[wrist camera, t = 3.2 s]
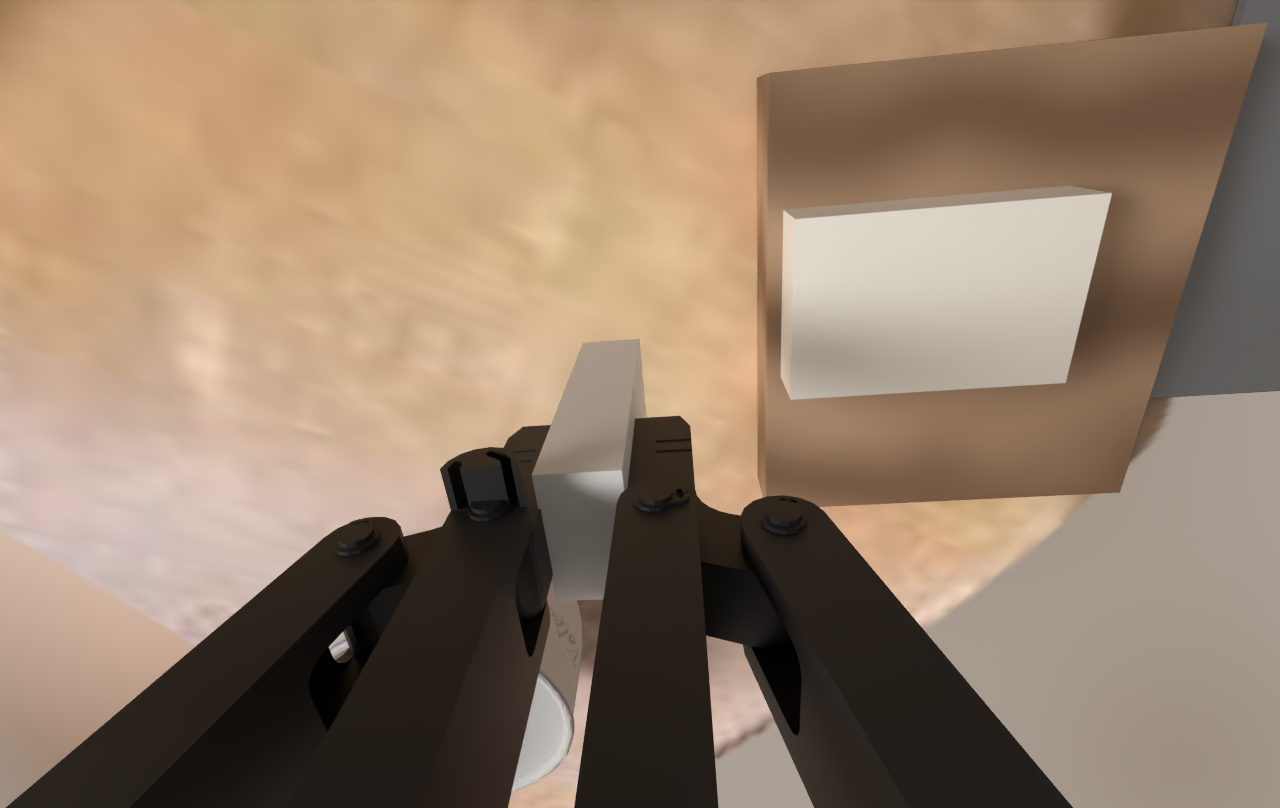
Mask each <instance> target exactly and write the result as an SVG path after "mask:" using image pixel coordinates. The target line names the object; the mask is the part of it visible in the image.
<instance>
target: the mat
mask: <svg viewBox="0 0 1280 808" xmlns="http://www.w3.org/2000/svg"><path fill="white" fill-rule="evenodd" d="M1259 23H1268V24H1267V27H1266V30H1265V33H1264V36H1263V40H1262V43H1261V46H1260V49H1259V52H1258V55H1257V59H1256V62H1255V65H1254V68H1253V71H1252V74H1251V78H1250V81H1249V84H1248V87H1247V90H1246V93H1245V97H1244V100H1243V103H1242V106H1241V109H1240V112H1239V116H1238V119H1237V122H1236V125H1235V128H1234V132H1233V135H1232V138H1231V141H1230V144H1229V147H1228V151H1227V154H1226V157H1225V160H1224V163H1223V166H1222V170H1221V173H1220V176H1219V179H1218V182H1217V185H1216V189H1215V192H1214V195H1213V198H1212V201H1211V204H1210V208H1209V211H1208V214H1207V217H1206V220H1205V223H1204V227H1203V230H1202V233H1201V236H1200V239H1199V243H1198V246H1197V249H1196V252H1195V255H1194V258H1193V262H1192V265H1191V268H1190V271H1189V274H1188V277H1187V281H1186V284H1185V287H1184V290H1183V293H1182V296H1181V300H1180V303H1179V306H1178V309H1177V312H1176V315H1175V319H1174V322H1173V325H1172V328H1171V331H1170V335H1169V338H1168V341H1167V344H1166V347H1165V350H1164V354H1163V357H1162V360H1161V363H1160V366H1159V369H1158V373H1157V376H1156V379H1155V382H1154V385H1153V388H1152V392H1151V395H1150V398H1165V397H1182V396H1199V395H1216V394H1233V393H1251V392H1268V391H1280V0H1239V2H1238V5H1237V9H1236V12H1235V15H1234V19H1233V22H1232V26H1240V25H1249V24H1259Z"/></svg>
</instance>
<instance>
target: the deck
mask: <svg viewBox="0 0 1280 808" xmlns="http://www.w3.org/2000/svg"><path fill="white" fill-rule="evenodd" d="M1267 24H1268V23H1259V24H1249V25H1240V26H1230V27H1220V28H1210V29H1200V30H1190V31H1180V32H1170V33H1160V34H1150V35H1140V36H1131V37H1121V38H1111V39H1101V40H1091V41H1081V42H1071V43H1061V44H1051V45H1041V46H1031V47H1022V48H1012V49H1002V50H992V51H982V52H972V53H962V54H952V55H942V56H932V57H923V58H913V59H903V60H893V61H883V62H873V63H863V64H853V65H843V66H833V67H823V68H814V69H804V70H794V71H784V72H774V73H768V74H765V75H763V76H760V77H758V78H757V226H758V479H759V483H760V487H761V491H762V495H763V498H764V497H767V496H779V495H785V496H792V497H799V498H802V499H804V500H807V501H809V502H812V503H814V504H815V505H817V506H818V507H825V506H846V505H867V504H888V503H908V502H929V501H950V500H971V499H992V498H1013V497H1034V496H1055V495H1076V494H1096V493H1117V492H1120V490H1121V487H1122V484H1123V480H1124V477H1125V474H1126V471H1127V468H1128V465H1129V461H1130V458H1131V455H1132V452H1133V449H1134V446H1135V442H1136V439H1137V436H1138V433H1139V430H1140V426H1141V423H1142V420H1143V417H1144V414H1145V411H1146V407H1147V404H1148V401H1149V398H1150V395H1151V392H1152V388H1153V385H1154V382H1155V379H1156V376H1157V373H1158V369H1159V366H1160V363H1161V360H1162V357H1163V354H1164V350H1165V347H1166V344H1167V341H1168V338H1169V335H1170V331H1171V328H1172V325H1173V322H1174V319H1175V315H1176V312H1177V309H1178V306H1179V303H1180V300H1181V296H1182V293H1183V290H1184V287H1185V284H1186V281H1187V277H1188V274H1189V271H1190V268H1191V265H1192V262H1193V258H1194V255H1195V252H1196V249H1197V246H1198V243H1199V239H1200V236H1201V233H1202V230H1203V227H1204V223H1205V220H1206V217H1207V214H1208V211H1209V208H1210V204H1211V201H1212V198H1213V195H1214V192H1215V189H1216V185H1217V182H1218V179H1219V176H1220V173H1221V170H1222V166H1223V163H1224V160H1225V157H1226V154H1227V151H1228V147H1229V144H1230V141H1231V138H1232V135H1233V132H1234V128H1235V125H1236V122H1237V119H1238V116H1239V112H1240V109H1241V106H1242V103H1243V100H1244V97H1245V93H1246V90H1247V87H1248V84H1249V81H1250V78H1251V74H1252V71H1253V68H1254V65H1255V62H1256V59H1257V55H1258V52H1259V49H1260V46H1261V43H1262V40H1263V36H1264V33H1265V30H1266V27H1267ZM1059 186H1075V187H1081V188H1086V189H1092V190H1098V191H1104V192H1109V193H1112V196H1111V200H1110V204H1109V208H1108V212H1107V216H1106V220H1105V224H1104V228H1103V232H1102V236H1101V241H1100V245H1099V249H1098V253H1097V257H1096V261H1095V265H1094V269H1093V273H1092V277H1091V281H1090V286H1089V290H1088V294H1087V298H1086V302H1085V306H1084V310H1083V314H1082V318H1081V322H1080V326H1079V330H1078V335H1077V339H1076V343H1075V347H1074V351H1073V355H1072V359H1071V363H1070V367H1069V371H1068V375H1067V380H1066V383H1058V384H1041V385H1025V386H1009V387H992V388H976V389H960V390H943V391H927V392H910V393H894V394H878V395H861V396H845V397H828V398H812V399H796V400H791V399H790V397H789V395H788V393H787V390H786V388H785V386H784V383H783V381H782V379H781V319H782V259H783V210H786V209H798V208H809V207H821V206H833V205H845V204H857V203H869V202H881V201H893V200H904V199H916V198H928V197H940V196H952V195H964V194H976V193H988V192H1000V191H1011V190H1023V189H1035V188H1047V187H1059Z"/></svg>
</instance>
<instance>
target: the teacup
mask: <svg viewBox="0 0 1280 808" xmlns="http://www.w3.org/2000/svg"><path fill="white" fill-rule="evenodd" d="M547 601H548V606H549V611H550V627H549V631H548V636H547V640H546V644H545V649H544V653H543V657H542V662H541V666H540V670H539V675H538V679H537V683H536V688H535V692H534V696H533V701H532V705H531V709H530V713H529V718H528V722H527V726H526V731H525V735H524V739H523V744H522V748H521V752H520V757H519V761H518V765H517V770H516V774H515V778H514V783H513V787H512V791H511V792H513V791H517V790H519V789H522V788H525V787H527V786H530V785H532V784H534V783H536V782H538V781H539V780H541V779H542V778H544V777H545V776H547V775H548V774H550V773H551V772H553V771H554V770H555V769H556V768H557V767H558V765H559V764H560V763H561V762H562V761H563V760H564V759H565V757H566V756H567V755H568V752H569V749H570V746H571V743H572V740H573V735H574V718H573V712H574V706H575V699H576V693H577V686H578V678H579V670H580V662H581V652H582V619H581V614H580V609H579V604H578V601H556V600H555V595H554V589H553V584H552V580H551V584H550V588H549V592H548V596H547ZM348 648H349V645H348V643H347V640H346V638H345V635H344V633H343V632H342V633H341V634H340V635H339V637H338V638H337V639H336V640H335V641H334V642H333V643H332V644H331V645H330V646H329V649H330V652H331V654H332V656H333V658H334V659H335V660H336V659H338V658H339V657H340V656H342V655H343V654H344V653H345V652H346V651H347V650H348Z"/></svg>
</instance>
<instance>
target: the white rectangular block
mask: <svg viewBox="0 0 1280 808" xmlns="http://www.w3.org/2000/svg"><path fill="white" fill-rule="evenodd" d="M1111 196H1112V193H1109V192H1104V191H1098V190H1092V189H1086V188H1081V187H1075V186H1059V187H1047V188H1035V189H1023V190H1011V191H1000V192H988V193H976V194H964V195H952V196H940V197H928V198H916V199H904V200H893V201H881V202H869V203H857V204H845V205H833V206H821V207H809V208H798V209H786V210H783V259H782V319H781V379H782V381H783V383H784V386H785V388H786V390H787V393H788V395H789V397H790V399H791V400H796V399H812V398H828V397H845V396H861V395H878V394H894V393H910V392H927V391H943V390H960V389H976V388H992V387H1009V386H1025V385H1041V384H1058V383H1066V380H1067V375H1068V371H1069V367H1070V363H1071V359H1072V355H1073V351H1074V347H1075V343H1076V339H1077V335H1078V330H1079V326H1080V322H1081V318H1082V314H1083V310H1084V306H1085V302H1086V298H1087V294H1088V290H1089V286H1090V281H1091V277H1092V273H1093V269H1094V265H1095V261H1096V257H1097V253H1098V249H1099V245H1100V241H1101V236H1102V232H1103V228H1104V224H1105V220H1106V216H1107V212H1108V208H1109V204H1110V200H1111Z"/></svg>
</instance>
